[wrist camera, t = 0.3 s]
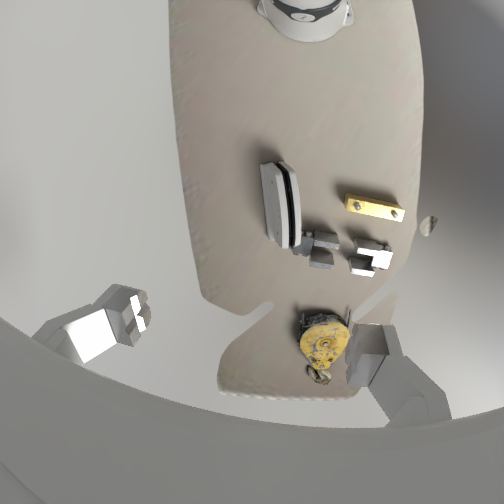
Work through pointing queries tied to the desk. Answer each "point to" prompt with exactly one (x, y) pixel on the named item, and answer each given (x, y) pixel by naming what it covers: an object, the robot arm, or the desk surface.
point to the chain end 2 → (378, 257)
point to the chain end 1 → (320, 240)
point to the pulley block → (323, 343)
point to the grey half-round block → (281, 204)
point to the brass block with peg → (373, 207)
